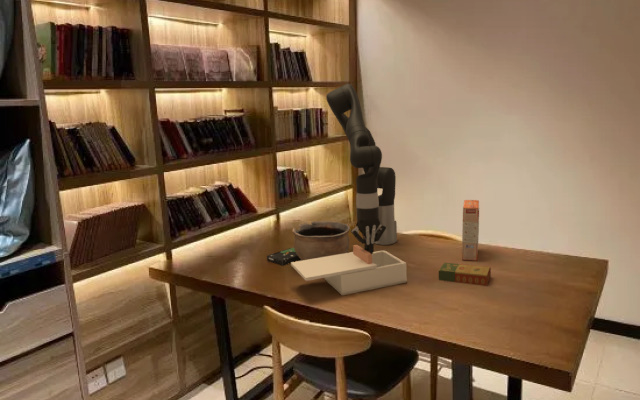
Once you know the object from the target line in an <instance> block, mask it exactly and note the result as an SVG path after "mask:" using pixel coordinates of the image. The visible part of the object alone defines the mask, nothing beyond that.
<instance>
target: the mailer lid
mask: <svg viewBox="0 0 640 400" xmlns="http://www.w3.org/2000/svg"><path fill="white" fill-rule="evenodd" d="M290 266H291V268H293V269H294V270H295V271H296V272H297V274H299V275H300V276H301V278H302V279H303V280H304V281H306V282H308V281H313V280H318V279H323V278H324V279H325V277H330V276H336V275H341V274H346V273H352V272H357V271H363V270H368V269H373V268H377V265H376V264H375V263H373V262H372V254H371V253H369V252H368V251H366V250H365V248H363V247H362V246H360V245H358V244H353V245H352V251H351V252H347V253H344V254H338V255H332V256H326V257H320V258H314V259H308V260H303V261H302V260H298V261H295V262H291V263H290Z"/></svg>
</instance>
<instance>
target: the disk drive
mask: <svg viewBox="0 0 640 400" xmlns="http://www.w3.org/2000/svg"><path fill="white" fill-rule="evenodd" d="M299 259H300V258H299V257H298V255H297V253H296V252H295V249H294V247H290V248H289V247H288V248H287V249H284V250H280V251H277V252H275V253H271V254H267V256H266V261H267V262H271V263H272V264H276V265H280V266H283V265H284V266H286V264H287V265H289V264H291V262H294V261H295V262H297V261H296V260H298V261H300V260H299ZM288 263H289V264H288ZM284 266H283V267H284Z"/></svg>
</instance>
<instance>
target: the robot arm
mask: <svg viewBox="0 0 640 400" xmlns="http://www.w3.org/2000/svg"><path fill="white" fill-rule="evenodd" d="M326 101H327V104H328V106H329V108H330V110H331V111H332V113H333V115H334V116H335V119H336V120H337V121H338V122H339V125H340V126H341V128H342V130H343V131H344V134H345V135H346V139H347V140H348V142H349V145H350V146H349V147H350V151H349V154H350V155H349V161H350V163H351V165H352V166H353V167H354V168H355V169H362V170H363V173H361V174H359V175H358V176H357V177H356V180H355V183H356V184H355V185H356V195H355V196H356V197H355V200H356V201H355V202H356V203H355V204H356V220H357V221H356V223H355V227H354V228H353V229H350V233H351V234H352V235H353V237H354V238H355V239H356V240H357V241H358V242H359V243H360V244H363V245H364V249H365V250H366V251H368V252H369V253H371V254H373V252H375V250H374V249H375V248H374V247H375V245H374V244H376V245H378V246H379V245H380V246H388V245H389V246H390V245H392V244H396V243H397V242H398V235H397V234H398V230H397V228H398V226H397V220H396V219H395V218H396V217H395V198H396V183H397V181H396V172H395V169H394V168H393V167H386V166H381V163H382V159H383V153H382V150H381V148H380V147H379V146H378V145H376V144H377V143H376V142H375V139H374V137H373V134H372V132H371V131H370V130H369V128H368V127H366V125H365V122H364V116H363V112H362V106H361V102H360V99H359V96H358V93H357V91H356V89H355V88H354V86H353V85H352V84H350V83H346V84H343V85H341V86H339V87H337V88H334V89H333V90H332V91H330V92H328V93H327V94H326ZM349 111H350V113H349V116H347V115H346V114H345V113H346V112H349ZM378 189H382V192H381V194H380V195H379V193H378ZM360 233H361V235H360Z"/></svg>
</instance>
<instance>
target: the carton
mask: <svg viewBox="0 0 640 400" xmlns="http://www.w3.org/2000/svg"><path fill="white" fill-rule="evenodd" d="M491 270H492V268H491V267H490V266H486V265H485V266H484V265H473V264H463V263H462V264H461V263H454V262H453V263H452V262H445V261H444V262H443V263H442V265H441V267H440V268H439V269H438V280H439V281H444V282H445V281H446V282H453V283H462V284H470V285H477V286H484V287H488V284H489V282H490V279H491V274H492V271H491Z"/></svg>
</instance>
